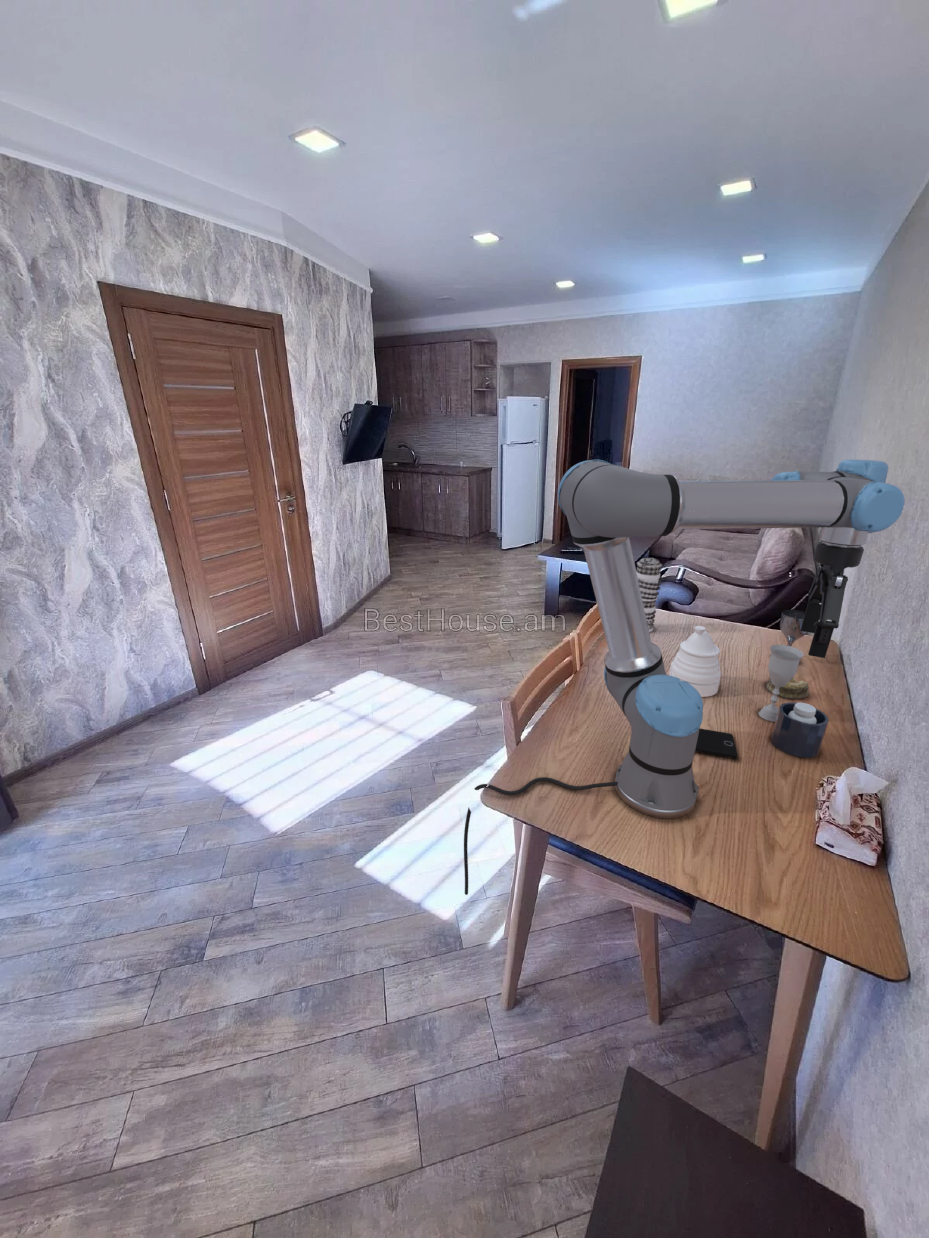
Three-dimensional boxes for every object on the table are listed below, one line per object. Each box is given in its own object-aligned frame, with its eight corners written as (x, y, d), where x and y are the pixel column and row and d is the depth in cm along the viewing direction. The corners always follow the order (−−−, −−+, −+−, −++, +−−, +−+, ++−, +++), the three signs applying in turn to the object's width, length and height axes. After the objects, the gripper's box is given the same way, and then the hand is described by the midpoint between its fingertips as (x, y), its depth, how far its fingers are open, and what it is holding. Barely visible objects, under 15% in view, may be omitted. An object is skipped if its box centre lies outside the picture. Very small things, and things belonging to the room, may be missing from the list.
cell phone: (737, 759, 109) (738, 756, 109) (650, 744, 115) (650, 740, 114) (731, 737, 117) (732, 733, 117) (650, 723, 122) (650, 720, 122)
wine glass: (801, 657, 155) (813, 612, 149) (800, 667, 149) (813, 621, 143) (771, 651, 159) (782, 607, 153) (770, 661, 153) (781, 616, 147)
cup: (797, 761, 109) (807, 728, 106) (761, 737, 117) (769, 706, 114) (828, 752, 112) (838, 720, 108) (791, 730, 120) (800, 699, 116)
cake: (792, 705, 131) (795, 687, 129) (757, 688, 139) (760, 671, 137) (817, 693, 134) (821, 676, 132) (781, 678, 143) (784, 661, 141)
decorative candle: (636, 620, 184) (644, 554, 174) (659, 628, 177) (669, 559, 168) (621, 627, 178) (629, 559, 169) (645, 635, 172) (655, 564, 162)
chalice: (790, 725, 121) (809, 659, 115) (760, 722, 123) (776, 656, 116) (779, 709, 128) (796, 645, 121) (750, 706, 129) (765, 643, 123)
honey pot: (704, 702, 132) (717, 639, 125) (659, 684, 141) (668, 625, 134) (725, 685, 139) (738, 626, 133) (681, 669, 148) (691, 613, 142)
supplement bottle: (793, 734, 117) (803, 698, 113) (814, 747, 112) (826, 710, 109) (775, 739, 115) (785, 703, 112) (797, 752, 111) (808, 715, 107)
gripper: (880, 561, 85) (844, 672, 93) (851, 533, 106) (824, 625, 114) (828, 556, 88) (797, 663, 96) (809, 529, 109) (785, 620, 117)
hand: (811, 643), depth 105 cm, fingers open, 13 cm apart
